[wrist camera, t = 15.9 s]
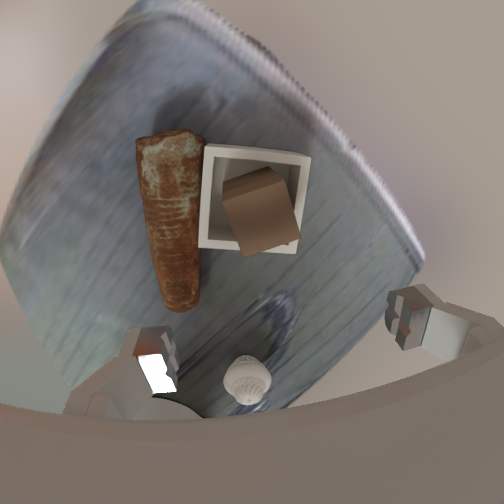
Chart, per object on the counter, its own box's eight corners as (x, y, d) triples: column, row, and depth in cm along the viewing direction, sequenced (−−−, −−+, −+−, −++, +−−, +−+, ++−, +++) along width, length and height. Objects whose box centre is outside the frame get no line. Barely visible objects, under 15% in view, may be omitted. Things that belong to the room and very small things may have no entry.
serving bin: (285, 235, 32) (295, 254, 27) (201, 228, 31) (198, 247, 26) (297, 152, 28) (311, 157, 24) (208, 143, 27) (204, 146, 23)
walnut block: (282, 209, 30) (301, 238, 22) (238, 224, 30) (243, 258, 23) (268, 165, 28) (284, 180, 20) (222, 181, 28) (221, 201, 21)
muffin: (255, 381, 41) (260, 419, 34) (216, 371, 39) (216, 410, 33) (276, 353, 39) (284, 392, 32) (234, 340, 37) (236, 380, 31)
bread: (207, 129, 27) (203, 129, 22) (205, 300, 35) (202, 329, 29) (144, 130, 26) (127, 131, 21) (152, 298, 34) (142, 326, 29)
